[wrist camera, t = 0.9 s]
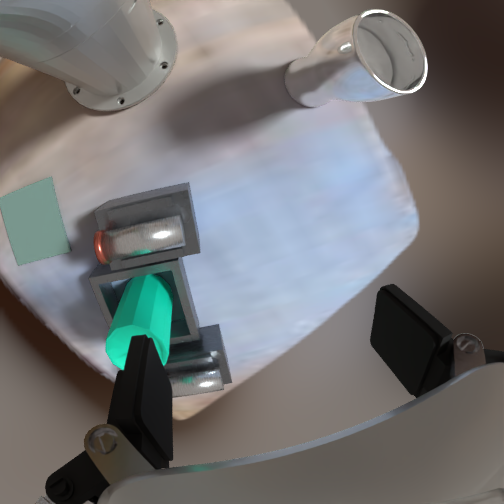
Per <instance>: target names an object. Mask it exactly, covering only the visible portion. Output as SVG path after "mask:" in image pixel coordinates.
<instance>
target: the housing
mask: <svg viewBox="0 0 504 504" xmlns="http://www.w3.org/2000/svg"><path fill="white" fill-rule="evenodd" d="M94 213H95V217H96V220H97V224H98V228H99V231H100V230H106V231H110V230H114V229H118V228H122V227H127V226H131V225H136V224H140V223H144V222H149V221H154V220H158V219H163V218H168V217H173V216H177V215H180V216H181V219H182V224H183V228H184V234H185V241H186V245H185V246H181V247H176V248H171V249H166V250H161V251H156V252H151V253H146V254H142V255H137V256H132V257H127V258H122V259H118V260H113V261H112V262H111V263H110V264H105V265H102V264H100V265H97V267H96V268H95V270H94V271H93V273H92V274H91V275H90V277H89V281H90V283H91V286H92V288H93V291H94V294H95V296H96V299H97V301H98V303H99V306H100V308H101V311H102V313H103V315H104V317H105V320H106V322H107V324H108V326H109V329H110V327H111V324H112V321H113V319H114V316H115V313H116V310H117V308H118V305H119V303H118V301H117V298H116V295H115V293H114V290H113V287H112V285H111V282H113V281H118V280H123V279H129V278H134V277H139V276H144V275H149V274H154V273H159V272H164V271H170V270H172V273H173V277H174V280H175V284H176V287H177V291H178V295H179V298H180V301H181V305H182V308H183V311H184V315H185V318H186V319H182V320H176V321H171V329H170V344H169V356H168V359H167V362H166V364H165V365H164V369H165V371H166V374H167V376H168V377H171V376H178V375H185V374H191V373H197V372H203V371H209V370H214V369H220V373H221V376H222V380H223V384H228V383H232V379H231V374H230V369H229V364H228V359H227V355H226V351H225V347H224V343H223V339H222V335H221V331H220V327H219V324H218V325H213V326H208V327H202V328H199V321H198V317H197V314H196V310H195V306H194V303H193V299H192V295H191V292H190V288H189V284H188V280H187V276H186V272H185V268H184V264H183V260H182V257H184V256H187V255H192V254H197V253H200V241H199V233H198V228H197V222H196V217H195V212H194V207H193V201H192V196H191V190H190V185H189V182H188V183H183V184H178V185H174V186H169V187H164V188H160V189H155V190H151V191H146V192H142V193H138V194H133V195H129V196H125V197H121V198H117V199H113V200H109V201H108V202H106V203H105V204H104V205H102V206H101V207H100V208H98V209H97V210H96V211H94Z"/></svg>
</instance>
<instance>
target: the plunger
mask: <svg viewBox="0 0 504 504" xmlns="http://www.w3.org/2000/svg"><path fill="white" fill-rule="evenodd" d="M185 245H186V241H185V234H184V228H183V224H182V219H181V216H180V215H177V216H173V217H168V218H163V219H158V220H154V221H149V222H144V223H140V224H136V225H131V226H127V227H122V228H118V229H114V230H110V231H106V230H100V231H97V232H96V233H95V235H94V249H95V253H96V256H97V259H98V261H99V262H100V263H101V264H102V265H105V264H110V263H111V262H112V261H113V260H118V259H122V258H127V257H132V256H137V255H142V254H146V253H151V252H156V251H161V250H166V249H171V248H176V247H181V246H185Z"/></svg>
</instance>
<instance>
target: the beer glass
mask: <svg viewBox="0 0 504 504" xmlns="http://www.w3.org/2000/svg"><path fill="white" fill-rule="evenodd" d="M426 76H427V58H426V54H425V50H424V48H423V45H422V43H421V41H420V39H419V38H418V36H417V35H416V33H415V32H414V31H413V29H412V28H411V27H410V26H409V25H408V24H407V23H406V22H405V21H404V20H402V19H401V18H400V17H398V16H396V15H395V14H393V13H391V12H388V11H385V10H382V9H369V10H366V11H364V12H362V13H361V14H358V15H356V16H354V17H351V18H349V19H347V20H345V21H343V22H341V23H340V24H338V25H336V26H335V27H333V28H332V29H331V30H329V31H328V32H327V33H325V34H324V35H323V36H322V37H321V38H320V39H319V41H318V42H317V43H316V44H315V46H314V47H313V48H312V50H311V51H310V53H309V54H308V56H307V57H302V58H299V59H297V60H295V61H293V62H292V63H291V64H290V65H289V66H288V68H287V70H286V72H285V78H284V80H285V86H286V89H287V91H288V93H289V94H290V96H291V97H292V98H293V99H294V100H295V101H297V102H298V103H300V104H302V105H304V106H307V107H320V106H323V105H325V104H327V103H329V102H330V101H331V100H339V101H347V102H371V101H378V100H384V99H388V98H392V97H396V96H400V95H404V94H411V93H414V92H416V91H417V90H419V89H420V88H421V87H422V85H423V84H424V82H425V79H426Z"/></svg>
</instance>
